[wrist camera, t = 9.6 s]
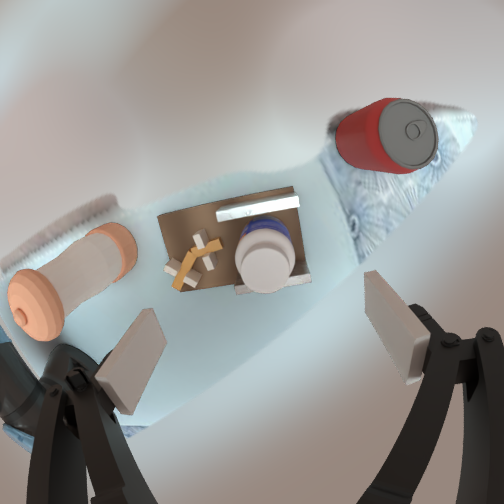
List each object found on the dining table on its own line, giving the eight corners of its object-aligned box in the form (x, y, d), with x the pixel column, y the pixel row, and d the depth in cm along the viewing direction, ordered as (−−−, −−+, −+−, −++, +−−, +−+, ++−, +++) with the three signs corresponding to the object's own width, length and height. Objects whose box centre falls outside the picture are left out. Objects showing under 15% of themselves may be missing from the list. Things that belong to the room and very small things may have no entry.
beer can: (395, 151, 27) (455, 151, 16) (355, 179, 29) (403, 192, 17) (365, 104, 26) (414, 79, 14) (322, 132, 27) (355, 116, 16)
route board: (182, 288, 35) (180, 292, 34) (160, 214, 31) (157, 216, 31) (306, 268, 33) (307, 271, 32) (292, 186, 30) (293, 187, 29)
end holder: (240, 279, 32) (236, 294, 29) (222, 205, 30) (215, 212, 26) (306, 267, 31) (311, 282, 28) (293, 191, 29) (297, 196, 25)
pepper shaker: (86, 243, 33) (-11, 305, 15) (114, 211, 32) (2, 264, 14) (117, 282, 35) (33, 365, 17) (147, 254, 33) (55, 339, 15)
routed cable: (175, 288, 33) (169, 297, 31) (159, 238, 31) (151, 243, 29) (232, 279, 33) (229, 288, 30) (218, 225, 30) (214, 230, 28)
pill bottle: (239, 215, 30) (226, 239, 21) (288, 213, 30) (298, 236, 20) (243, 261, 32) (233, 302, 22) (290, 259, 31) (298, 300, 22)
